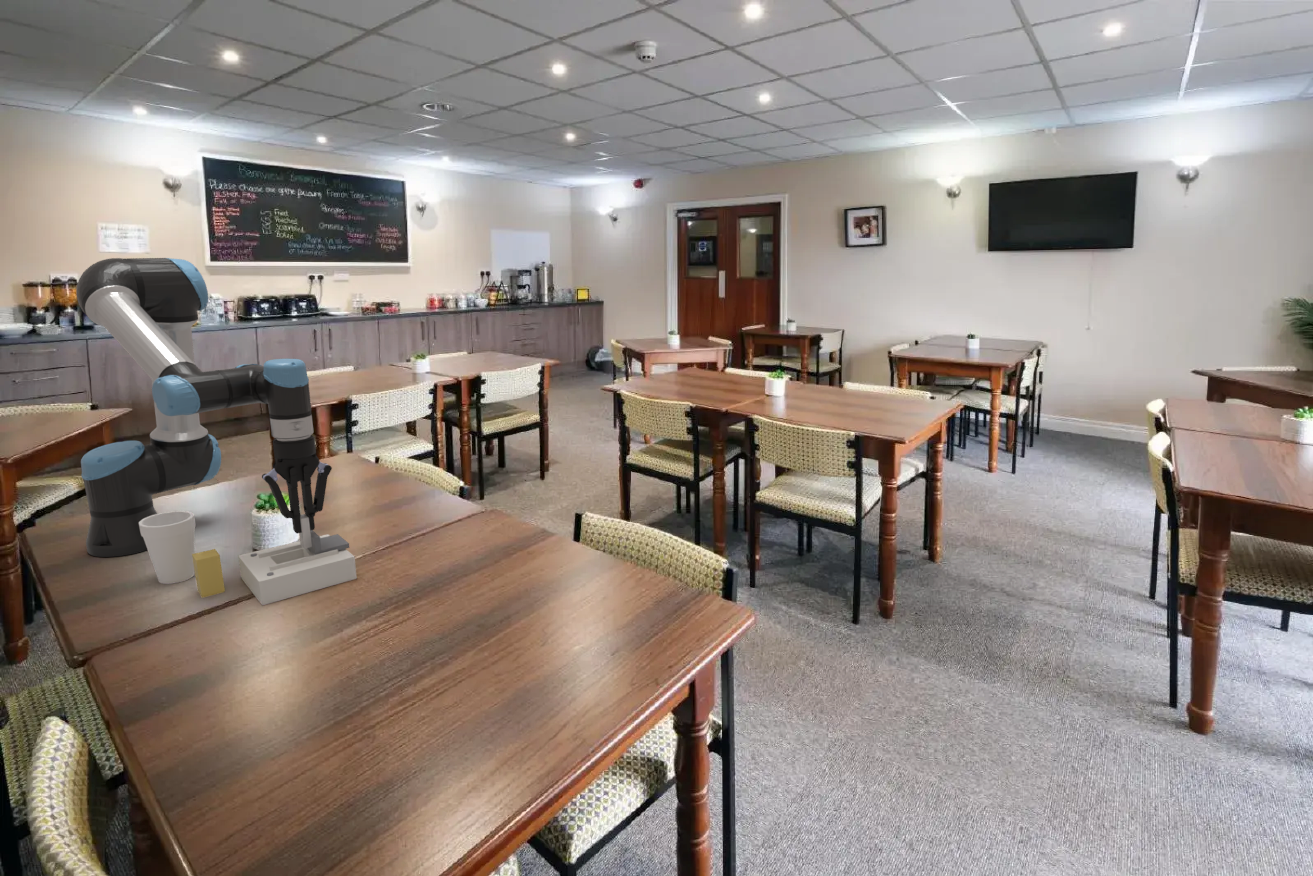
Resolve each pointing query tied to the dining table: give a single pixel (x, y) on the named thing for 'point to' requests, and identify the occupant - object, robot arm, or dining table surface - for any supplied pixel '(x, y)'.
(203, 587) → the plug
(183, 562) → the foam cup
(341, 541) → the shutter
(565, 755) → the dining table surface
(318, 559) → the socket
